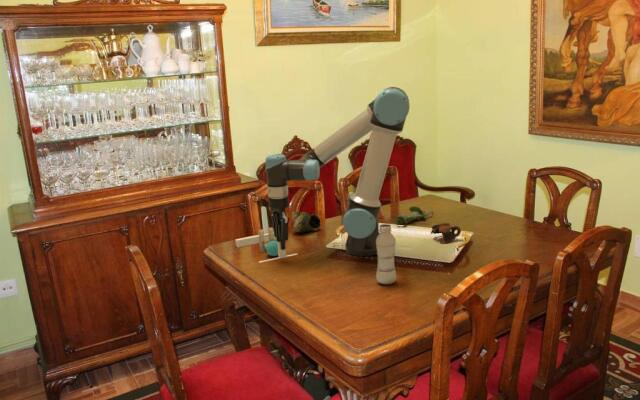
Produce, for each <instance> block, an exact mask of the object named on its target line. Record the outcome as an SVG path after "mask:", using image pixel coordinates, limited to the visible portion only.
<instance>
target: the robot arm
mask: <svg viewBox="0 0 640 400" xmlns="http://www.w3.org/2000/svg"><path fill="white" fill-rule="evenodd" d="M409 112H410V99H409V96H408V95H407V93H406V92H405V91H404V90H403V89H401V88H399V87H396V86H390V87H387V88H384V89H383V90H382V91H380V92H379V93H378V94H377V96H376V98H375V99H373V100H372V101H371V102H370V103H368V104H367V106H366V109H364V111H362V112H361V113H360V114H358V115H357V116H355V117H354V118H352V120H349V122H347V123H345V125H343V126H342V127H340V128H339V129H337V130H336V131H335V132H334V133H332V134H331V135H330V136H328V137H327V138H326V139H324V140H322V141H321V142H320V143H319V144H317V145H316V146H314V148H312V149H311V150H309V151H308V152H306V153H304V154H303V155H302V156H301V157H300V158H299V159H292V160H290V159H287V157H286V155H285V154H280V153H279V154H278V153H277V154H270V155H267V156H266V157H265V174H266V175H265V176H266V186H267V187H266V188H267V189H266V190H265V191H266V192H267V197H268V198H267V202H268V208H270V209H272V211H270V212H269V214H270V218H271V222H272V223H271V224H272V228H273V232H274V236H275V237H276V239H277V240H276V241H277V243H278V255H277V257H279V258H280V259H284V258H283V257H285V258H288V257H287V245H286V242H287V241H289V224H290V217H287V212H286V208H288V207H290V202H289V196H288V195H289V187H288V182H289V181H290V182H291V181H292V182H293V181H296V182H297V181H298V182H299V181H300V182H301V181H304V182H305V181H307V182H311V181H317V180H318V179H319V178H320V172H321V171H320V169H321V168H322V167H323V166H325V165H326V164H328V163H329V162H330V161H332V160H333V159H334V158H337V156H339V155H340V154H341V153H342V152H344V151H346V150H347V149H349V147H351V146H353V145H354V144H355V143H357V142H358V141H359V140H361V139H362V138H364V137H365V136H367V135H368V134H369V133H370V134H371V135H370V138H369V142H368V144H367V149H366V153H365V156H364V159H363V163H362V167H361V171H360V175H359V178H358V181H357V186H356V189H355V192H354V193H349V194H348V195H347V207H346V210H345V214H344V215H343V217H342V225H343V229H344V231H345V233H346V234H347V238H346V242H345V249H346V250H345V252H346V253H347V254H349V255H352V256H357V257H369V256H376V255H377V254H376V253H377V247H376V238H377V237H378V235H379V234H380V231H379V226H380V225H379V224H380V223H379V222H380V221H379V213H380V210H381V207H382V203H381V202H380V199H379V198H380V196H381V191H382V187H383V184H384V180H385V177H386V173H387V170H388V167H389V164H390V160H391V155H392V152H393V148H394V145H395V141H396V138H397V135H399V134H400V133H402V132H403V129H404V126H405V123H406V119H407V116H408V114H409Z"/></svg>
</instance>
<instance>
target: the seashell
mask: <svg viewBox="0 0 640 400" xmlns="http://www.w3.org/2000/svg"><path fill="white" fill-rule="evenodd" d="M291 216H292V221H293V229H294V231H295V232H297V233H300V234H301V233H303V234H304V233H308V232H313V231H314V232H315V231H317V230H318V229H320V227H321V219H320V217H319V216H317V214H315V213H312V214H309V212H306V211H292V214H291Z"/></svg>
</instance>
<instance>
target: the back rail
mask: <svg viewBox="0 0 640 400" xmlns="http://www.w3.org/2000/svg"><path fill="white" fill-rule="evenodd" d="M273 234H274V231H273ZM264 241H265V243H266V242H269V234H268V232H265V233H264ZM274 241H277V239H276V237H275V236H274ZM234 242H235V247H236V248H243V247H246V246H251V245H252V246H253V245H257V244H260V242H259V234H257V235H251V236H246V237H242V238H235V241H234Z"/></svg>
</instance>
